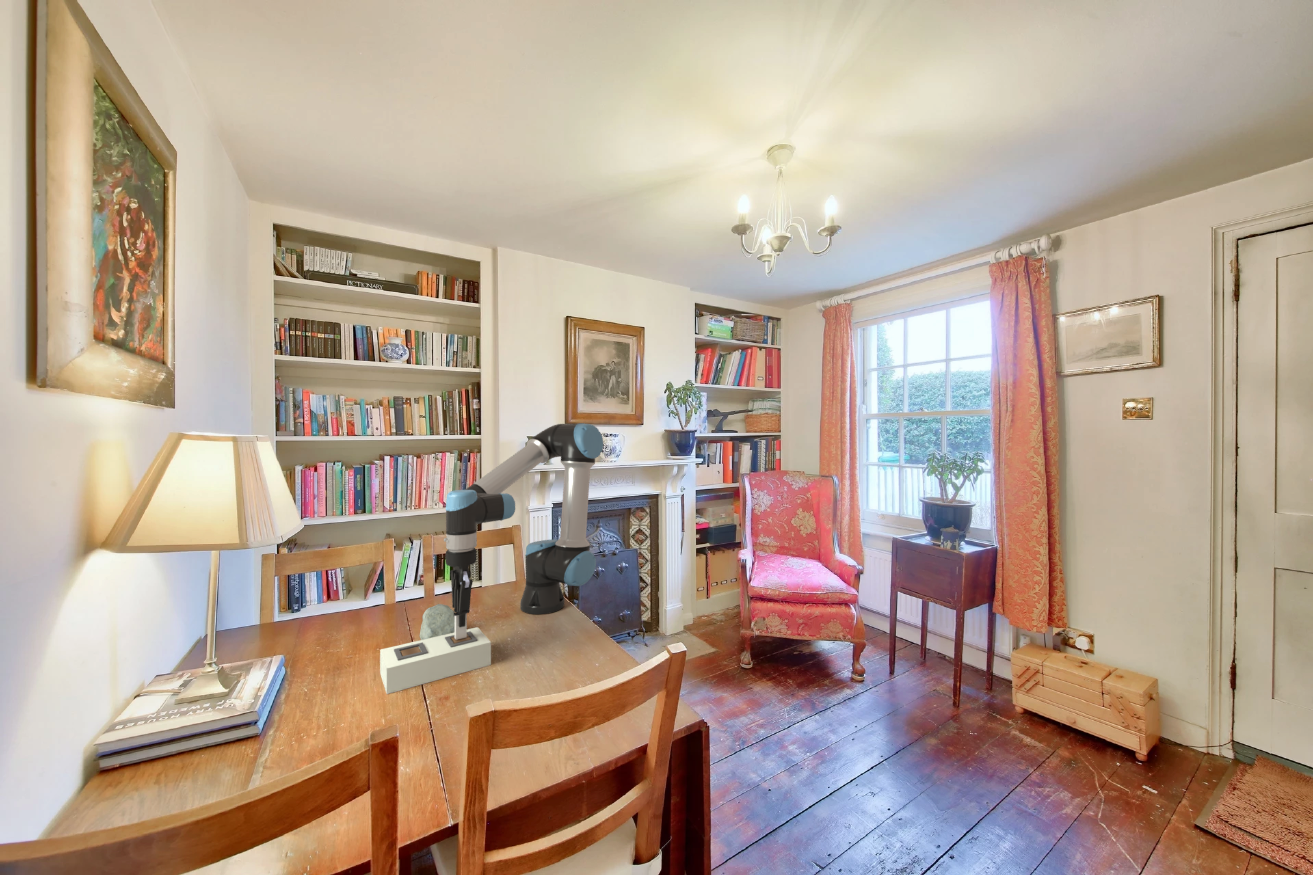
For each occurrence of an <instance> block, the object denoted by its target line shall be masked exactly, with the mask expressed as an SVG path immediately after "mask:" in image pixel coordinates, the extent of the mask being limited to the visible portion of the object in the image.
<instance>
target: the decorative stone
mask: <svg viewBox="0 0 1313 875" xmlns="http://www.w3.org/2000/svg"><path fill="white" fill-rule="evenodd" d="M454 613H455V612H454V609H452V608H451V607H450V606H449V605H446V604H444V603H438V604H435V605H434V606H431V607H428V608H427V609H425V611H424V612H423V614H422V621H421V624H420V632H419V638H420V640H424V639H428V638H433V637H437V636H441V635H446V634H450V633H454V632H455V616H454Z"/></svg>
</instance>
